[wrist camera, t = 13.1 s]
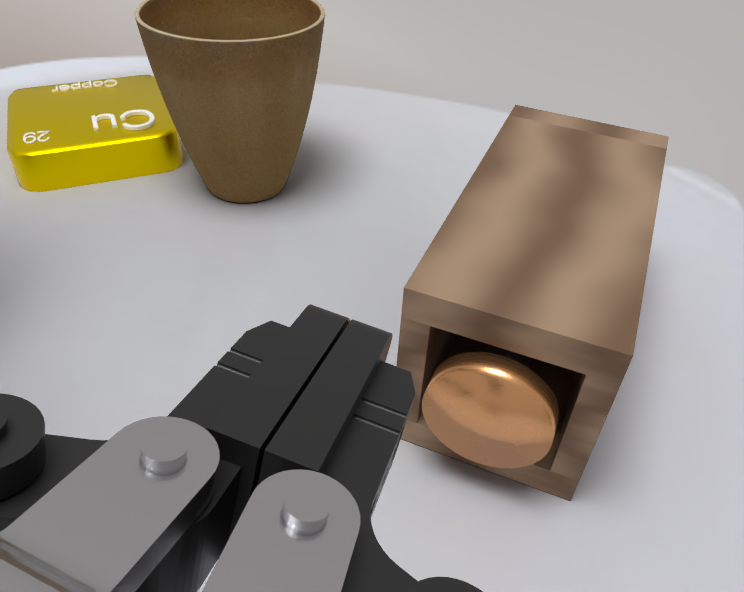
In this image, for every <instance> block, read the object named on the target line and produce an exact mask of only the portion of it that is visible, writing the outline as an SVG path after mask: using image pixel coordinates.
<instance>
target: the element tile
mask: <svg viewBox="0 0 744 592" xmlns="http://www.w3.org/2000/svg"><path fill="white" fill-rule="evenodd" d="M7 151H8V154H9V156H10V159H11V162H12V165H13V167H14V170H15V173H16V176H17V178H18V181H19V184H20V186H21V187H22V188H23V189H24V190H27V191H31V192H42V191H50V190H57V189H63V188H69V187H76V186H82V185H88V184H95V183H101V182H108V181H114V180H120V179H127V178H133V177H139V176H146V175H152V174H158V173H164V172H169V171H172V170H175V169H177V168H178V167H180V166H181V165H182V163H183V154H182V148H181V143H180V137H179V134H178V132H177V130H176V128H175V126H174V123H173V121H172V119H171V116H170V114H169V112H168V109H167V107H166V105H165V102H164V100H163V97H162V95H161V92H160V90H159V87H158V85H157V82H156V79H155V77H153V76H151V75H138V76H129V77H120V78H111V79H102V80H94V81H85V82H76V83H67V84H58V85H49V86H40V87H31V88H23V89H18V90H15V91H14V92H13V93H12V94H11V95H10V96H9V97H8V127H7Z"/></svg>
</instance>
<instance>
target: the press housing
mask: <svg viewBox="0 0 744 592" xmlns="http://www.w3.org/2000/svg"><path fill="white" fill-rule="evenodd" d="M667 143H668V137H667V136H662V135H657V134H653V133H648V132H643V131H639V130H634V129H629V128H624V127H619V126H614V125H610V124H605V123H600V122H595V121H591V120H586V119H581V118H576V117H571V116H566V115H561V114H557V113H552V112H547V111H542V110H538V109H533V108H528V107H523V106H518V105H515V107H514V108H513V110H512V111H511V113H510V115H509V116H508V118H507V120H506V121H505V123H504V125H503V126H502V128H501V130H500V131H499V133H498V134H497V136H496V138H495V139H494V141H493V143H492V144H491V146H490V148H489V149H488V151H487V152H486V154H485V156H484V157H483V159H482V161H481V162H480V164H479V166H478V167H477V169H476V171H475V172H474V174H473V175H472V177H471V179H470V180H469V182H468V184H467V185H466V187H465V189H464V190H463V192H462V193H461V195H460V197H459V198H458V200H457V202H456V203H455V205H454V207H453V208H452V210H451V212H450V213H449V215H448V216H447V218H446V220H445V221H444V223H443V225H442V226H441V228H440V230H439V231H438V233H437V234H436V236H435V238H434V239H433V241H432V243H431V244H430V246H429V248H428V249H427V251H426V253H425V254H424V256H423V257H422V259H421V261H420V262H419V264H418V266H417V267H416V269H415V271H414V272H413V274H412V276H411V277H410V279H409V280H408V282H407V284H406V285H405V287H404V294H403V304H402V315H401V325H400V336H399V346H398V357H397V367H399V368H402V369H404V370H407V371H410V372H411V375H412V380H413V384H414V389H415V393H416V394H415V397H414V400H413V403H412V406H411V409H410V412H409V415H408V418H407V421H406V424H405V427H404V430H403V433H402V436H401V439H403V440H405V441H408V442H411V443H414V444H416V445H419V446H422V447H425V448H427V449H430V450H433V451H435V452H438V453H441V454H444V455H446V456H449V457H452V458H455V459H457V460H460V461H463V462H465V463H468V464H471V465H474V466H476V467H479V468H482V469H485V470H487V471H490V472H493V473H495V474H498V475H501V476H504V477H506V478H509V479H512V480H515V481H517V482H520V483H523V484H525V485H528V486H531V487H534V488H536V489H539V490H542V491H545V492H547V493H550V494H553V495H555V496H558V497H561V498H564V499H566V500H569V501H570V500H571V498H572V496H573V493H574V491H575V489H576V486H577V484H578V482H579V479H580V477H581V475H582V472H583V470H584V468H585V466H586V463H587V461H588V459H589V456H590V454H591V452H592V449H593V447H594V445H595V442H596V440H597V438H598V435H599V433H600V431H601V429H602V426H603V424H604V422H605V419H606V417H607V415H608V412H609V410H610V408H611V405H612V403H613V401H614V398H615V396H616V394H617V392H618V389H619V387H620V385H621V382H622V380H623V378H624V375H625V373H626V371H627V368H628V366H629V364H630V362H631V359H632V357H633V352H634V346H635V340H636V334H637V327H638V321H639V315H640V309H641V303H642V297H643V291H644V284H645V278H646V272H647V266H648V260H649V254H650V248H651V242H652V235H653V229H654V223H655V217H656V211H657V205H658V199H659V192H660V186H661V180H662V174H663V168H664V162H665V156H666V150H667ZM491 345H493V346H496V347H499V348H502V349H506V350H509V351H512V352H515V353H518V354H522V355H525V356H528V357H531V360H530V364H529V367H528V368H530V369H531V370H532V371H534V372H535V373H537V374H538V375H539V376H540V377H541V378H542V379H543V380H544V381H545V382H546V383H547V384H548V386H549V387H550V389H551V390H552V391H553V393H554V395H555V397H556V400H557V403H558V407H559V419H558V423H557V427H556V431H555V434H554V438H553V442H552V446H551V448H550V450H549V452H548V453H547V454H546V456H544V457H543V458H542V459H541V460H539V461H538V462H536V463H534V464H532V465H529V466H525V467H520V468H496V467H490V466H486V465H482V464H479V463H476V462H473V461H471V460H469V459H466V458H464V457H462V456H460V455H459V454H457V453H455V452H454V451H452V450H451V449H449V448H448V447H447V446H446V445H444V444H443V443H442V442H441V441H440V440H439V439H438V438H437V437H436V436H435V435H434V434H433V432H432V431H431V430H430V428H429V426H428V425H427V423H426V421H425V419H424V415H423V412H422V399H423V395H424V393H425V391H426V389H427V387H428V385H429V383H430V381H431V378H432V376H433V374H434V372H435V370H436V369H437V367H438V366H439V365H440V364H441V363H442V362H443V361H445V360H446V359H448V358H450V357H452V356H454V355H458V354H461V353H467V352H487V353H488V352H489V349H490V347H491Z"/></svg>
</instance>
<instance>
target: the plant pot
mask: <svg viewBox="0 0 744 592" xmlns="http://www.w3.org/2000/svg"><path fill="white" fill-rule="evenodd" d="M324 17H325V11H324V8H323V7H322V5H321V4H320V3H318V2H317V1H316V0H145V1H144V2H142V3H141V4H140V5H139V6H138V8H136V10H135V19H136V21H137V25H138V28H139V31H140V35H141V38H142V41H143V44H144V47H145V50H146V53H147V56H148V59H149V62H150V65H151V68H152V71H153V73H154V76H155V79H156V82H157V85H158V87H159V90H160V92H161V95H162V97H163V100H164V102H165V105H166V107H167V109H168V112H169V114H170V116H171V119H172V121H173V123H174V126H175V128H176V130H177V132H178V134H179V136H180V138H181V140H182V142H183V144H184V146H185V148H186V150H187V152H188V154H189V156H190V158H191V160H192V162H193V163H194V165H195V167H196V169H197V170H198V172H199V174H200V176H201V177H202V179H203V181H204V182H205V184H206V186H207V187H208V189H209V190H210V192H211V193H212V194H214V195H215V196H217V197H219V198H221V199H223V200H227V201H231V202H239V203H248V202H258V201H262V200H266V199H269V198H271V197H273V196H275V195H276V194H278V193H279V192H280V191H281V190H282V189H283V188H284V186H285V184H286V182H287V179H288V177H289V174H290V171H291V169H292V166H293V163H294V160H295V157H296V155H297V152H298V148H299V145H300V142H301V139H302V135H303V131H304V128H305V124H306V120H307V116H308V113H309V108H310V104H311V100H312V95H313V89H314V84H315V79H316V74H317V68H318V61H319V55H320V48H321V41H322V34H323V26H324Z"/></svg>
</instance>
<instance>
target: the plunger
mask: <svg viewBox="0 0 744 592" xmlns="http://www.w3.org/2000/svg"><path fill="white" fill-rule="evenodd" d="M530 360H531V357H528V356H525V355H522V354H518V353H515V352H512V351H509V350H506V349H502V348H499V347H496V346H493V345H491V347H490V349H489V352H488V353H487V352H467V353H461V354H458V355H454V356H452V357H450V358H448V359H446V360H445V361H443V362H442V363H441V364H440V365H439V366H438V367H437V369H436V370H435V372H434V374H433V376H432V378H431V381H430V383H429V385H428V387H427V389H426V391H425V393H424V395H423V399H422V412H423V415H424V419H425V421H426V423H427V425H428V426H429V428H430V430H431V431H432V432H433V434H434V435H435V436H436V437H437V438H438V439H439V440H440V441H441V442H442V443H443V444H444V445H446V446H447V447H448V448H449V449H451V450H452V451H454V452H455V453H457V454H459V455H460V456H462V457H464V458H466V459H469V460H471V461H473V462H476V463H479V464H482V465H486V466H490V467H496V468H520V467H525V466H529V465H532V464H534V463H536V462H538V461H539V460H541V459H542V458H543V457H544V456H546V454H547V453H548V452H549V450H550V448H551V446H552V442H553V438H554V434H555V431H556V427H557V423H558V419H559V407H558V403H557V400H556V397H555V395H554V393H553V391H552V390H551V389H550V387H549V386H548V384H547V383H546V382H545V381H544V380H543V379H542V378H541V377H540V376H539V375H538V374H537V373H535V372H534V371H532V370H531V369H530V368H528V367H529V364H530Z"/></svg>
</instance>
